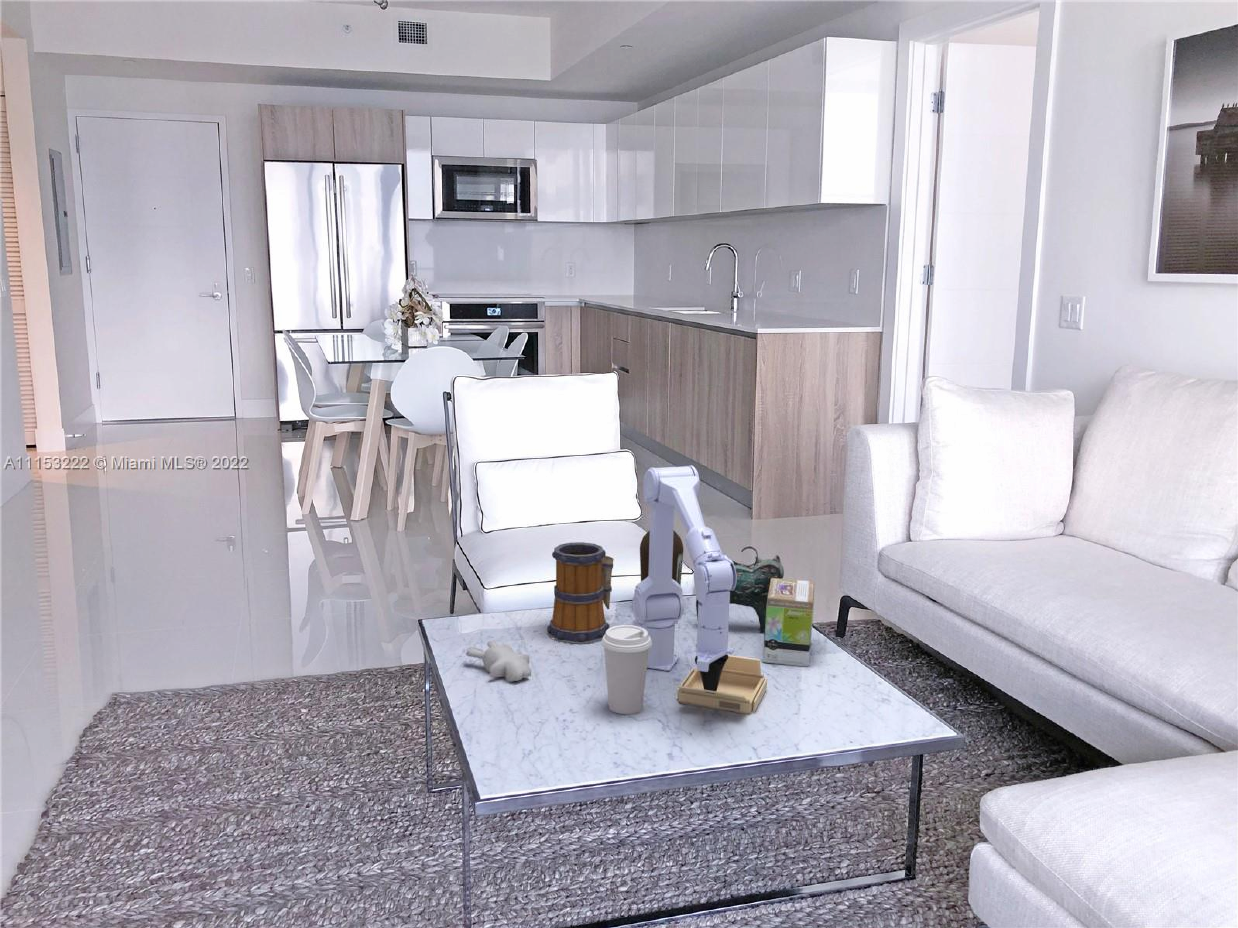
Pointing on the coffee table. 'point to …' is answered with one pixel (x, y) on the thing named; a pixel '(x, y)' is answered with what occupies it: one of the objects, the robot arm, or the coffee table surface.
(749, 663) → the flap far
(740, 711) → the carton
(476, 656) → the bunny figurine
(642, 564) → the olive oil
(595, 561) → the mug
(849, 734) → the coffee table surface
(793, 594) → the tea box
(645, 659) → the coffee cup
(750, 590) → the green animal figurine
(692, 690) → the flap near
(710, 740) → the coffee table surface
